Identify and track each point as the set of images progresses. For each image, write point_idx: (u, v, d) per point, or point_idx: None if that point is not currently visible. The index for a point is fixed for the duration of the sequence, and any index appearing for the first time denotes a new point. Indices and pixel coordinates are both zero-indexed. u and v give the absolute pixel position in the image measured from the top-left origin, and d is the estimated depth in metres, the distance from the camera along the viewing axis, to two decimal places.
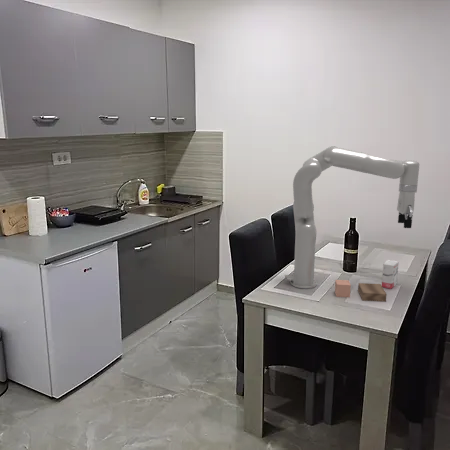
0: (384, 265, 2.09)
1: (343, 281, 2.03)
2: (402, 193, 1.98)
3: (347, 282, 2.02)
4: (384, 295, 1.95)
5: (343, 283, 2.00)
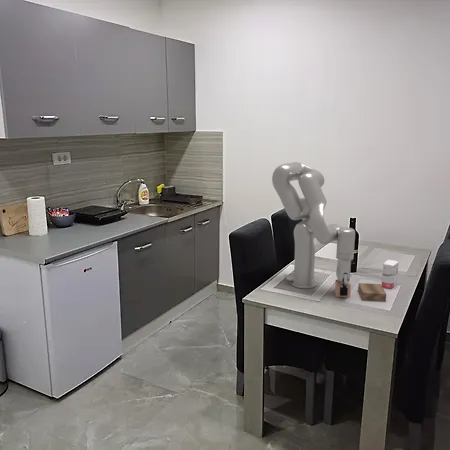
0: (384, 265, 2.09)
1: None
2: (339, 260, 1.98)
3: None
4: (384, 295, 1.95)
5: None
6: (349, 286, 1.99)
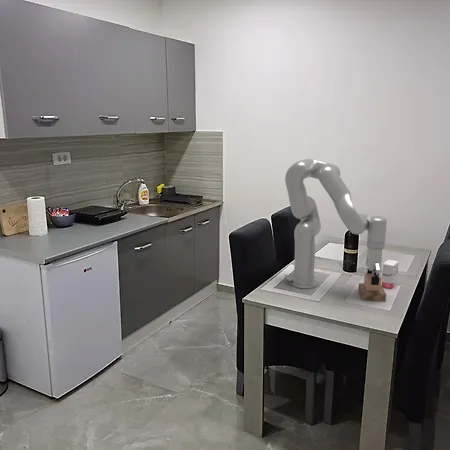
0: (384, 265, 2.09)
1: None
2: (369, 249, 1.95)
3: None
4: (384, 296, 1.95)
5: None
6: (379, 280, 1.97)
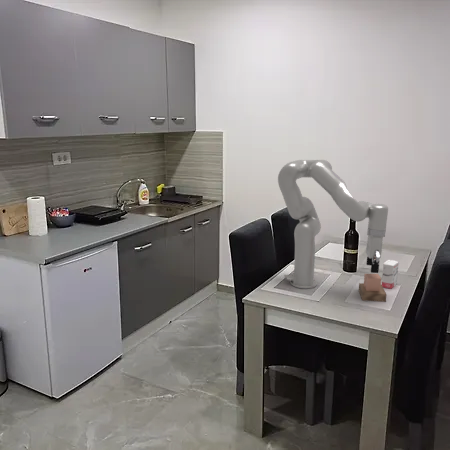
0: (384, 265, 2.09)
1: (372, 274, 2.01)
2: (370, 237, 1.94)
3: (377, 276, 2.00)
4: (384, 296, 1.95)
5: (373, 277, 1.98)
6: (379, 280, 1.97)
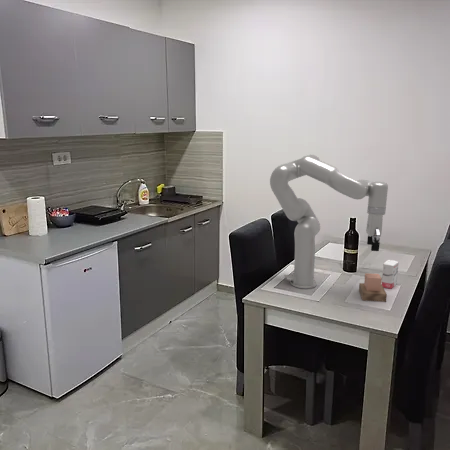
0: (384, 265, 2.09)
1: (373, 274, 2.01)
2: (370, 215, 1.93)
3: (377, 275, 2.00)
4: (385, 296, 1.95)
5: (374, 277, 1.98)
6: (380, 279, 1.97)
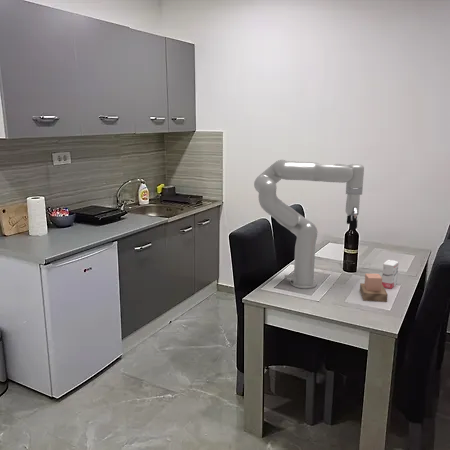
0: (384, 265, 2.09)
1: (373, 274, 2.01)
2: (348, 195, 2.07)
3: (378, 275, 2.00)
4: (385, 296, 1.95)
5: (374, 277, 1.98)
6: (380, 279, 1.97)
